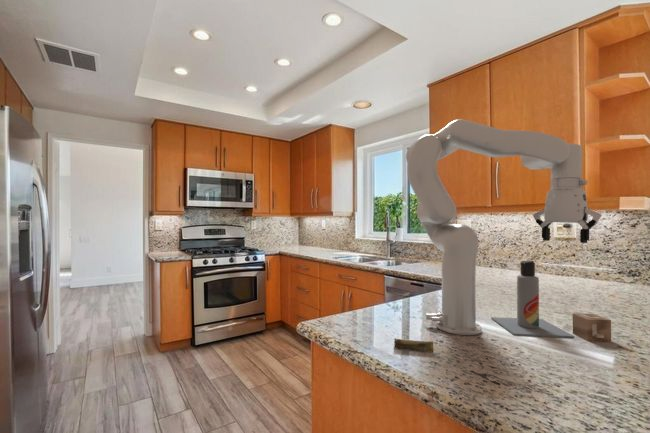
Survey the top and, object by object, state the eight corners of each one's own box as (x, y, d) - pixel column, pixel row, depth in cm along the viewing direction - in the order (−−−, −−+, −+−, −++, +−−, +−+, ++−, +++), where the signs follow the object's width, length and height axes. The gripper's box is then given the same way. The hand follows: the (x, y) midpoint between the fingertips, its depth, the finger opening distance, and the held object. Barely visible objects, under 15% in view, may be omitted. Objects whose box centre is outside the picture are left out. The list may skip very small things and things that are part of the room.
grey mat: (513, 335, 91) (513, 333, 91) (491, 318, 107) (491, 317, 107) (574, 338, 90) (574, 336, 90) (542, 320, 106) (542, 319, 106)
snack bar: (433, 352, 80) (433, 340, 80) (433, 354, 78) (433, 342, 78) (393, 348, 82) (393, 337, 82) (393, 351, 80) (393, 339, 80)
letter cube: (587, 341, 87) (587, 319, 87) (572, 333, 93) (572, 312, 93) (611, 342, 87) (611, 319, 87) (594, 334, 93) (594, 313, 93)
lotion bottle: (542, 329, 95) (542, 262, 96) (521, 328, 96) (521, 261, 97) (533, 323, 101) (533, 259, 101) (514, 322, 102) (514, 259, 102)
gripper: (606, 184, 92) (605, 243, 92) (539, 188, 107) (538, 239, 107) (596, 181, 88) (595, 243, 88) (528, 186, 103) (527, 239, 102)
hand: (564, 241), depth 97 cm, fingers open, 9 cm apart
